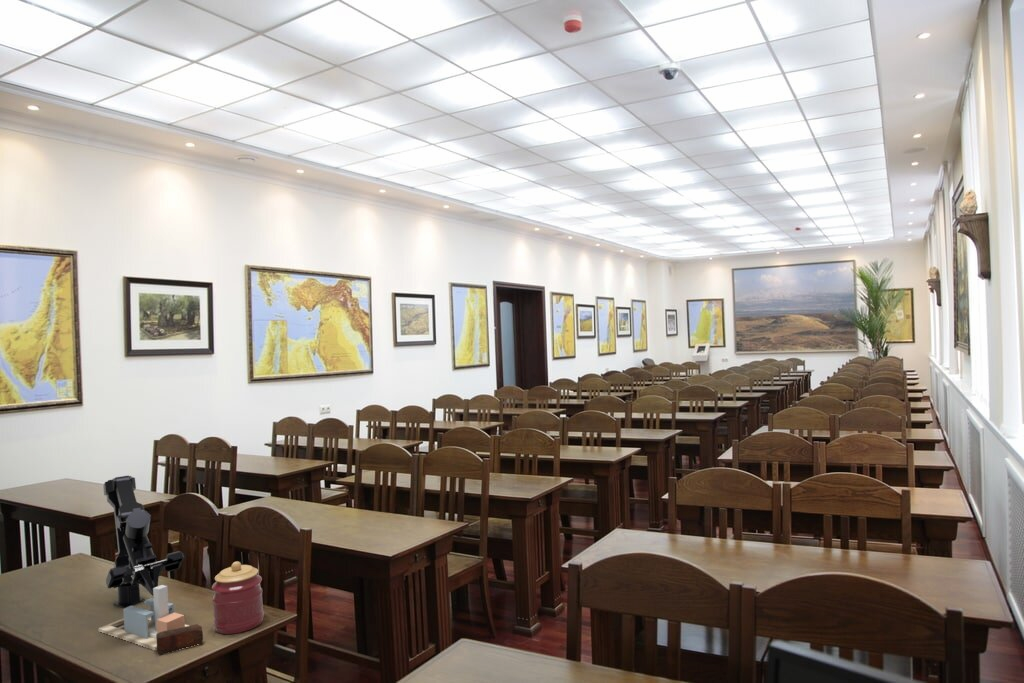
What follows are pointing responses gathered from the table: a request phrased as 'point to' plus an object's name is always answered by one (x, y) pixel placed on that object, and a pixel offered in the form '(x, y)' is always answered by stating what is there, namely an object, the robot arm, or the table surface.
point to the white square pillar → (164, 613)
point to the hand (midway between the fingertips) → (155, 595)
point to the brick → (179, 638)
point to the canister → (237, 599)
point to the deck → (118, 631)
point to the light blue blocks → (140, 618)
